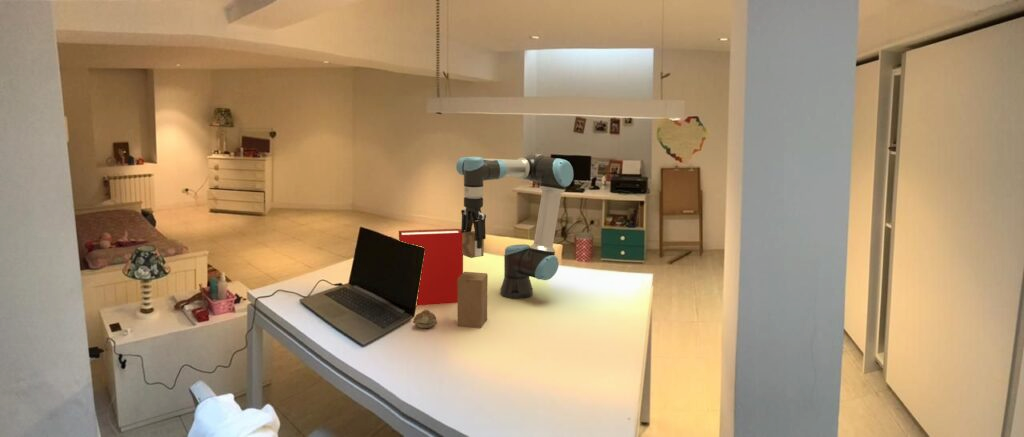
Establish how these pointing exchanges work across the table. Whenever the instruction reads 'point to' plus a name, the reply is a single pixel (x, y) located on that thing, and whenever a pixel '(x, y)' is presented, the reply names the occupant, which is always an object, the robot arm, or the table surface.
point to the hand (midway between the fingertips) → (473, 254)
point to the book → (438, 264)
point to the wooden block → (472, 299)
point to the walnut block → (470, 244)
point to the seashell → (425, 319)
